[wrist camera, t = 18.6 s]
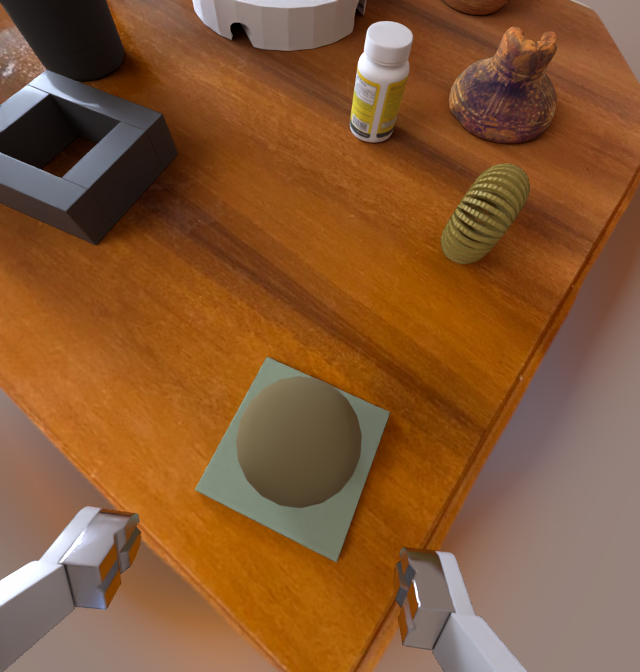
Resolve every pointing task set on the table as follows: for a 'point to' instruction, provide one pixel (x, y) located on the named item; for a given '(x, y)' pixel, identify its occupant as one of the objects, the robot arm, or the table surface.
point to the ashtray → (282, 21)
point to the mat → (295, 523)
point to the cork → (298, 442)
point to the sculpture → (492, 223)
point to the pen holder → (69, 35)
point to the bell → (508, 90)
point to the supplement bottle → (380, 81)
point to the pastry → (476, 6)
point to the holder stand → (93, 169)
